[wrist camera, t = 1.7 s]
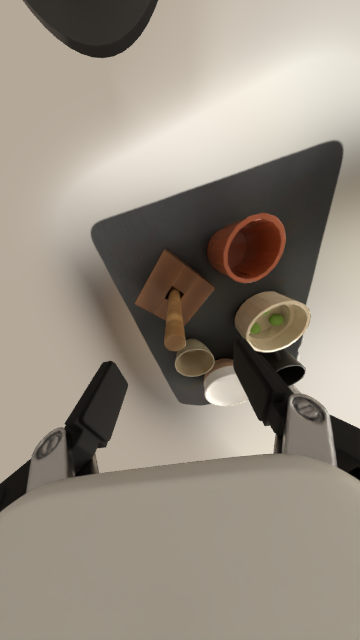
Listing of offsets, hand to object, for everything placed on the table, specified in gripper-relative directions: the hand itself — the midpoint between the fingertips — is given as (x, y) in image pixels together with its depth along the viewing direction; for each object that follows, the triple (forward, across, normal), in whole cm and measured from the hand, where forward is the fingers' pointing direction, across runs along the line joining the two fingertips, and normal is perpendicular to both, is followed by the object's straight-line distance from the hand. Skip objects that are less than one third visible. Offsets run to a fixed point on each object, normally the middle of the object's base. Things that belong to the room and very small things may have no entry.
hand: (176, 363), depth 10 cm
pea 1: (+20, -18, +14) cm, 30 cm away
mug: (+23, -24, +25) cm, 41 cm away
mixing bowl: (+22, -20, +12) cm, 32 cm away
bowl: (+23, -11, +31) cm, 40 cm away
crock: (+22, -12, -6) cm, 26 cm away
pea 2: (+20, -24, +12) cm, 33 cm away
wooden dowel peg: (+22, 0, 0) cm, 22 cm away
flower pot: (+22, -1, +18) cm, 29 cm away
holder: (+22, 0, 0) cm, 22 cm away
